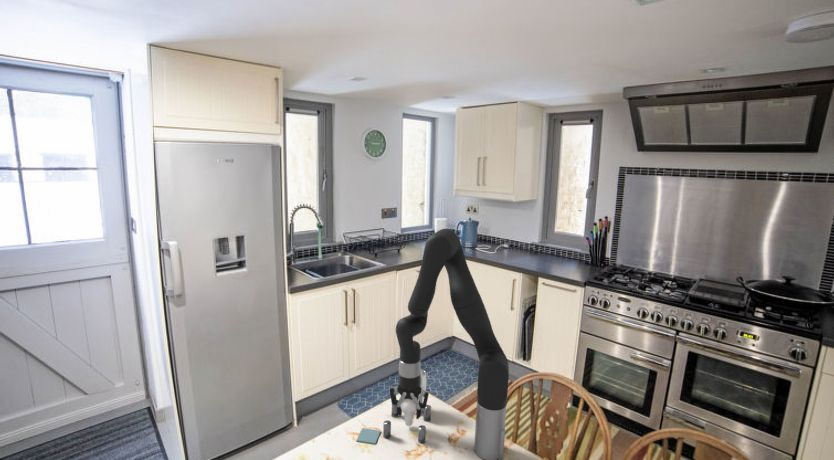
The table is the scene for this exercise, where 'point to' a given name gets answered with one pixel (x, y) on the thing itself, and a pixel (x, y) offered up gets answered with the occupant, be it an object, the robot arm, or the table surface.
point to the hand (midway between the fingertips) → (408, 416)
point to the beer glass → (423, 386)
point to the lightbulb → (408, 410)
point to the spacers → (420, 431)
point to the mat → (368, 436)
